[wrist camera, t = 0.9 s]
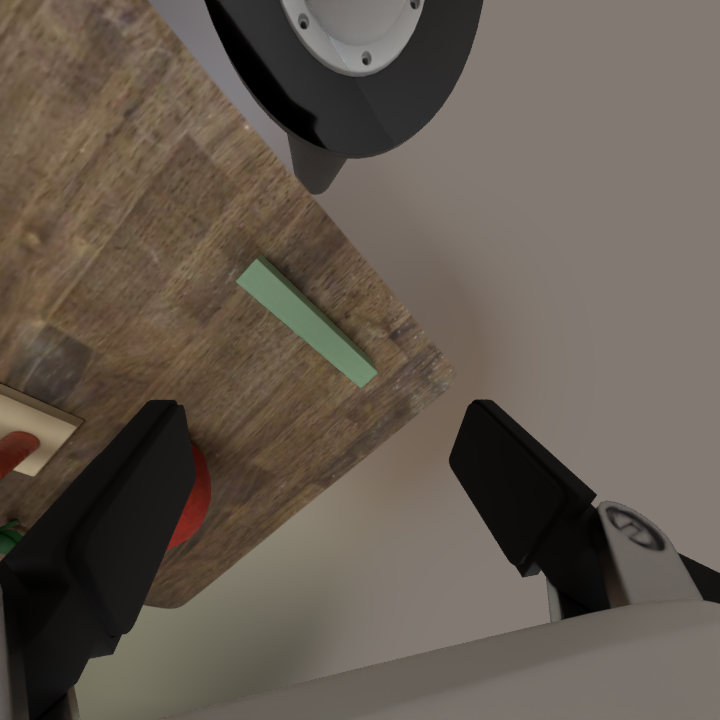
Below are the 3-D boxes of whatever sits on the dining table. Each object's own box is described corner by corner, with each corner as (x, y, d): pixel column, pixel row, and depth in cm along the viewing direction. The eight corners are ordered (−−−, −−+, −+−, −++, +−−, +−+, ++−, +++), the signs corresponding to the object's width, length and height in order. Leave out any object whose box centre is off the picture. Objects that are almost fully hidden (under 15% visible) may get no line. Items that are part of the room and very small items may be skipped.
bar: (261, 254, 27) (256, 258, 24) (372, 360, 35) (378, 372, 32) (242, 275, 28) (235, 281, 24) (355, 374, 36) (360, 388, 33)
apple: (122, 424, 33) (35, 519, 22) (215, 415, 34) (176, 499, 24) (152, 484, 38) (93, 585, 27) (232, 473, 39) (206, 564, 29)
